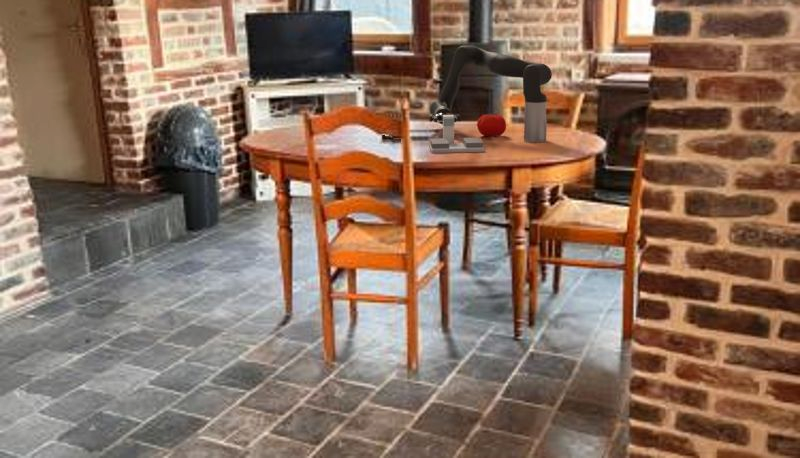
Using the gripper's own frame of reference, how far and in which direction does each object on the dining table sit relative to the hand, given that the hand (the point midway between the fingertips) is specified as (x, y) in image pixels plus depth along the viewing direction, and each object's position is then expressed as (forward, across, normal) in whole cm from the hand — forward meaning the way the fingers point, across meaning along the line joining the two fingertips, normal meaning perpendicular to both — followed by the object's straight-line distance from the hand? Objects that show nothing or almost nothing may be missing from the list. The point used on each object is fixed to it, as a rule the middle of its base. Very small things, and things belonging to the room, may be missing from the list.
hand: (445, 120), depth 351 cm
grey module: (+11, 0, +8) cm, 14 cm away
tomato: (-4, +21, +8) cm, 23 cm away
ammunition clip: (-3, -24, +9) cm, 26 cm away
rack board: (+26, +2, +8) cm, 28 cm away
